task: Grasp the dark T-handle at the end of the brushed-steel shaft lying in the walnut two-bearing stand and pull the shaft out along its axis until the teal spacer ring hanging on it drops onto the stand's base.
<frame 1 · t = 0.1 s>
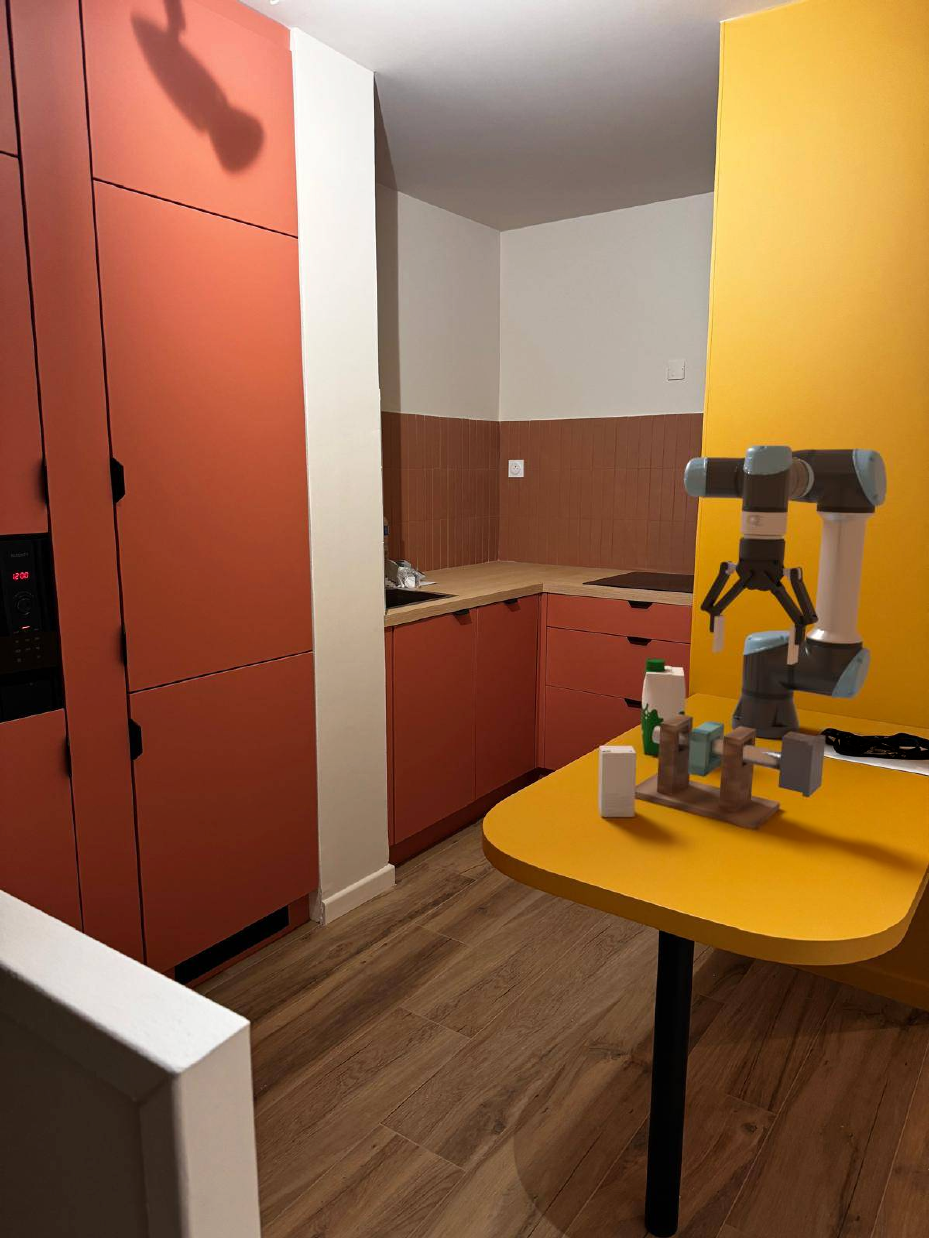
hand: (753, 657, 153), 28 cm above the table, fingers open, 13 cm apart
skincare box: (615, 814, 155), on the table
spacer ring: (705, 769, 159), point 6 cm above the table, touching shaft
bearing stand: (703, 802, 160), on the table
shaft: (732, 747, 155), point 12 cm above the table, slide at 0.0 cm, touching spacer ring
milk carton: (661, 751, 189), on the table
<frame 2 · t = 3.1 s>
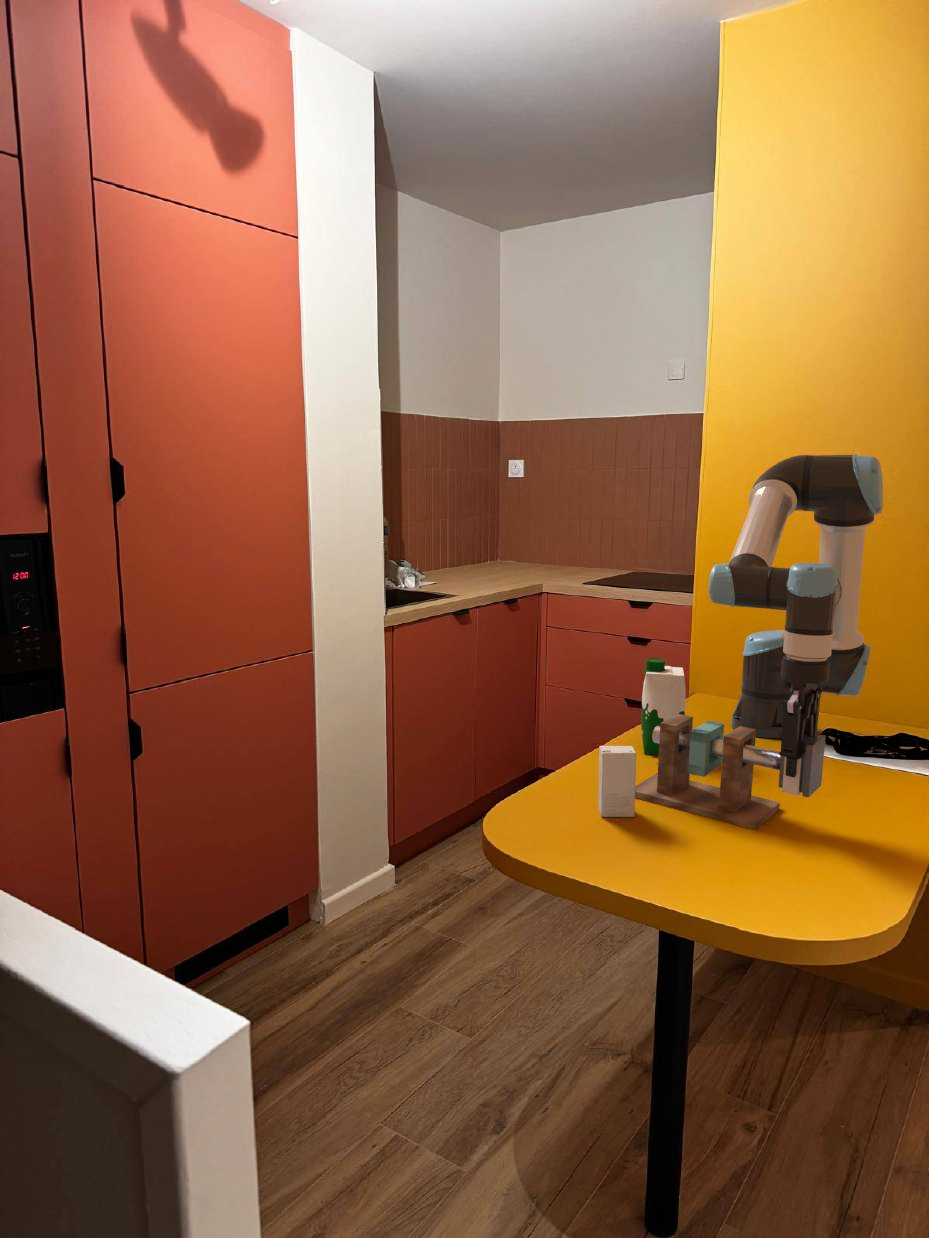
hand: (795, 788, 149), 7 cm above the table, fingers closed on shaft, 4 cm apart
shaft: (732, 747, 155), point 12 cm above the table, slide at 0.0 cm, touching gripper, spacer ring
everything else where it was.
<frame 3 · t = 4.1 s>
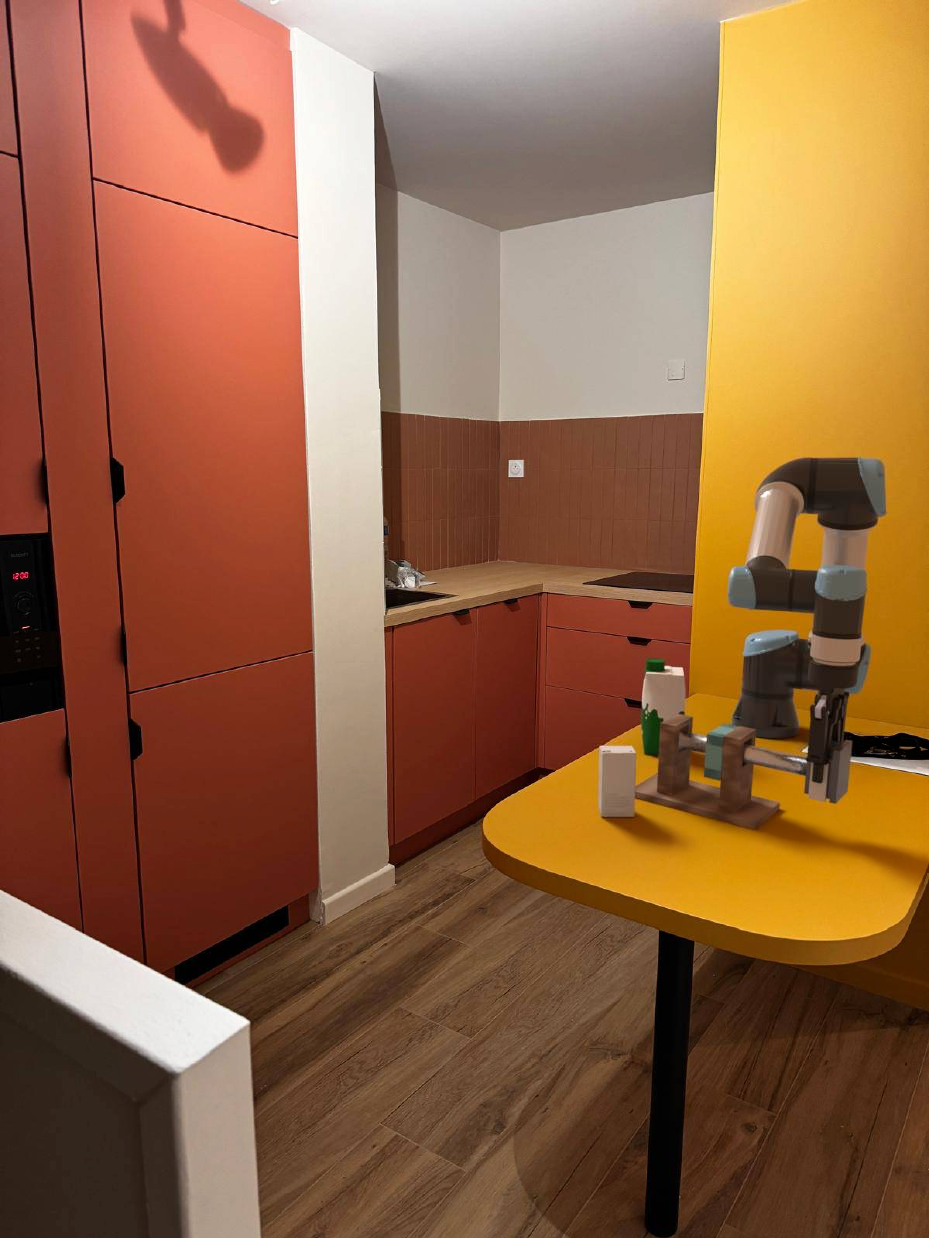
hand: (821, 795, 147), 7 cm above the table, fingers closed on shaft, 4 cm apart
spacer ring: (720, 772, 157), point 6 cm above the table, touching bearing stand, shaft
shaft: (756, 753, 153), point 12 cm above the table, slide at 4.3 cm, touching gripper, spacer ring
everything else where it was.
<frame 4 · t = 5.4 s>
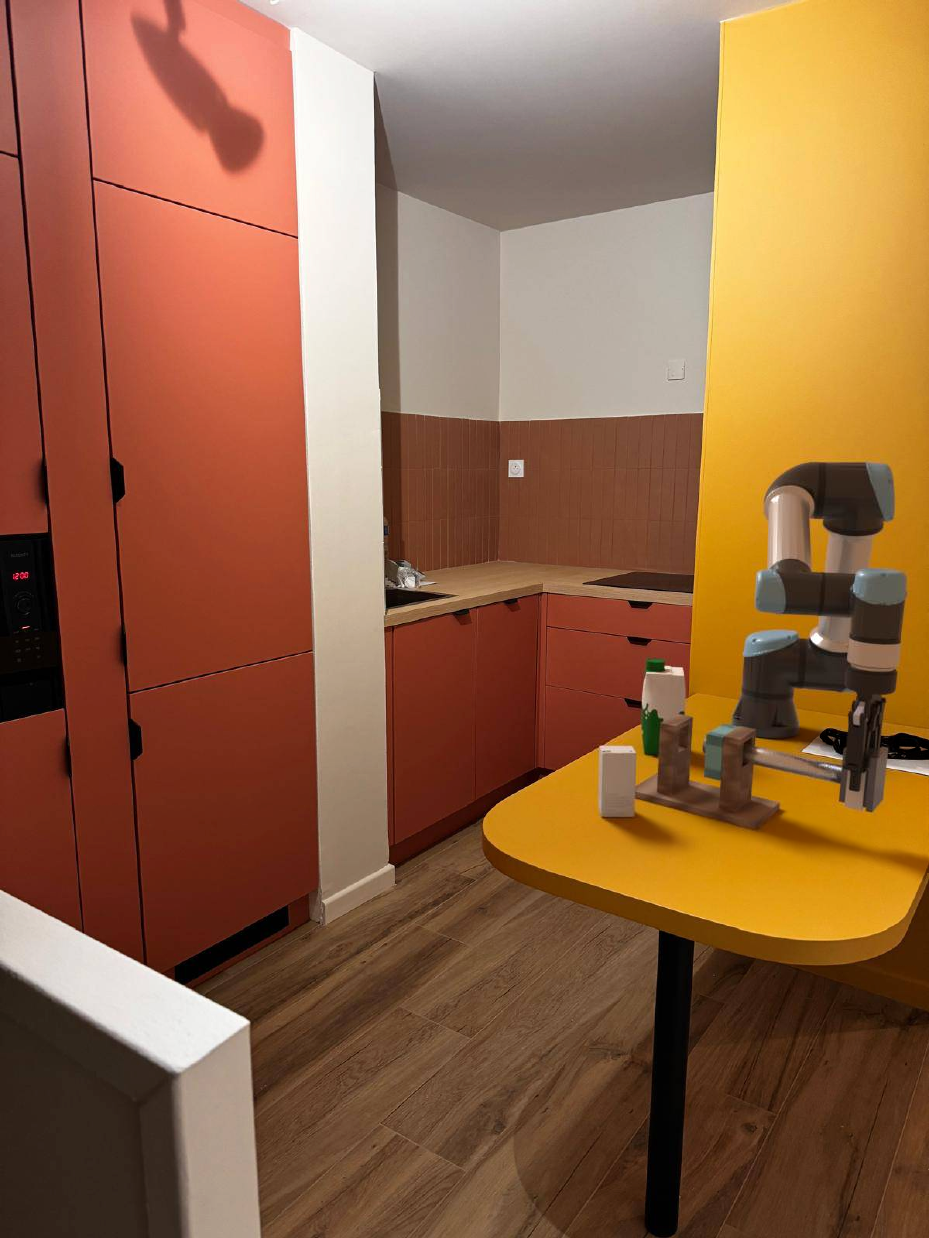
hand: (857, 803, 143), 7 cm above the table, fingers closed on shaft, 4 cm apart
spacer ring: (720, 772, 157), point 6 cm above the table
shaft: (788, 759, 149), point 12 cm above the table, slide at 9.9 cm, touching gripper
everything else where it was.
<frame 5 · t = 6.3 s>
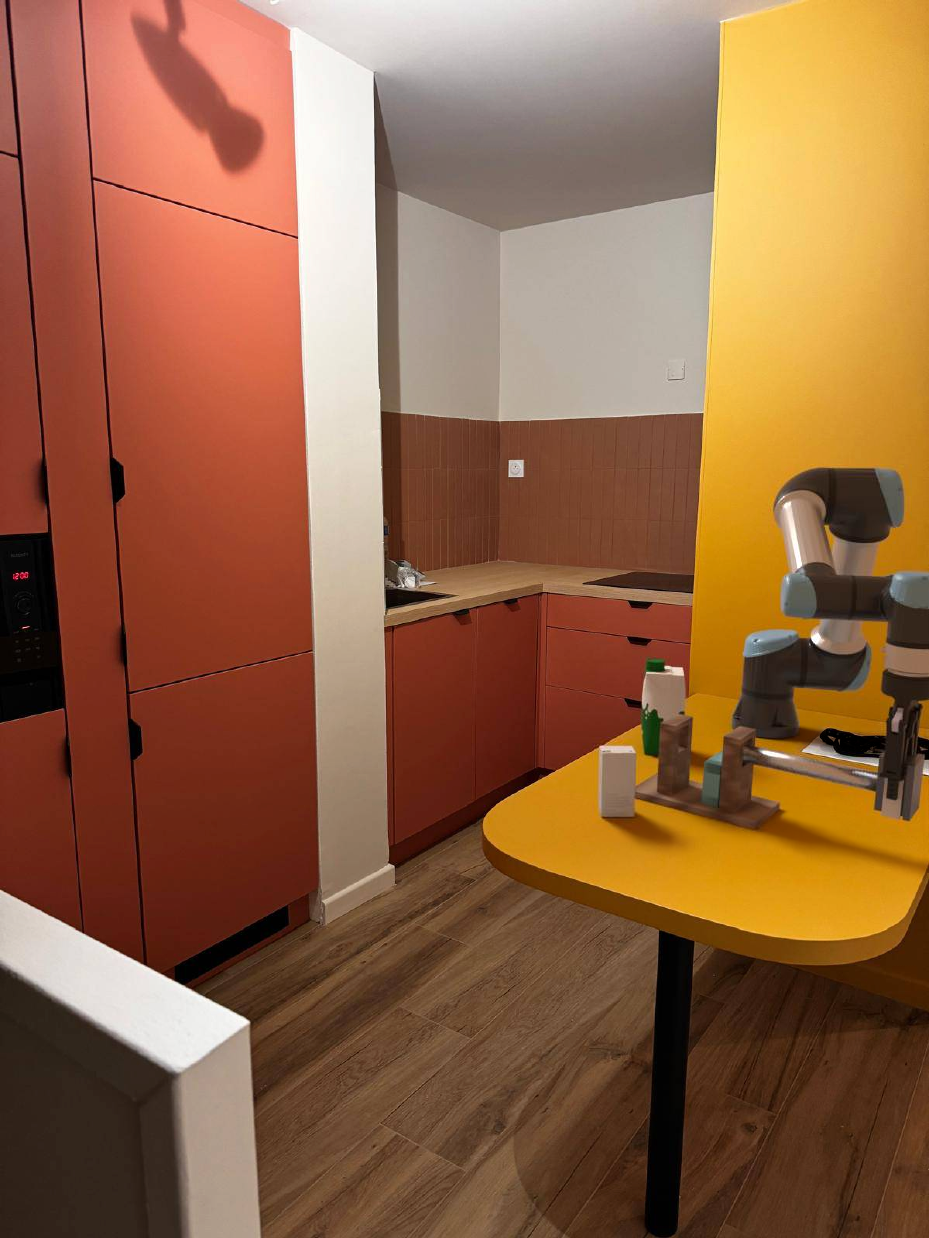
hand: (894, 812, 140), 7 cm above the table, fingers closed on shaft, 4 cm apart
spacer ring: (718, 799, 158), point 1 cm above the table, touching bearing stand
shaft: (820, 766, 146), point 12 cm above the table, slide at 15.3 cm, touching gripper
everything else where it was.
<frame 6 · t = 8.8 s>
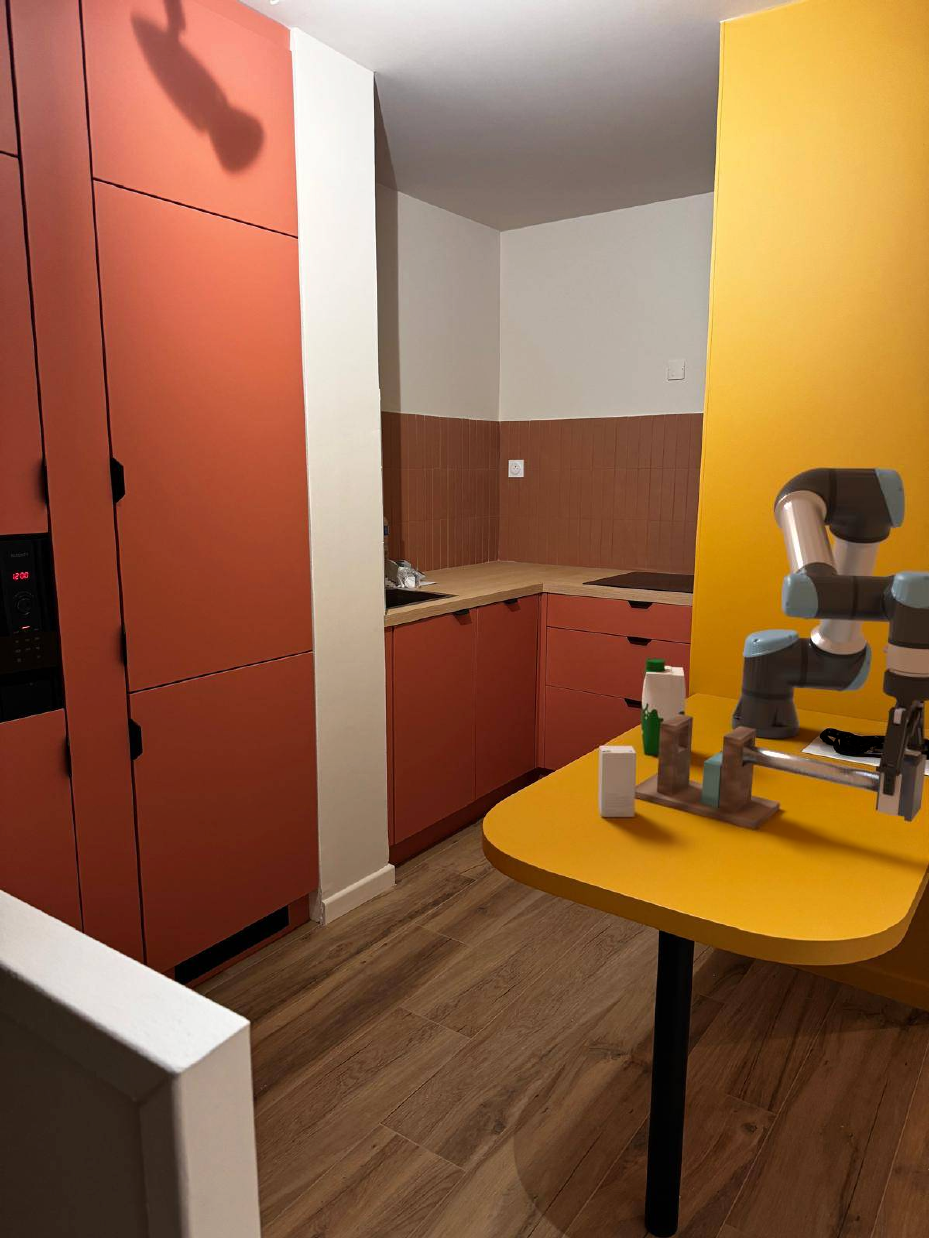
hand: (897, 800, 139), 9 cm above the table, fingers open, 13 cm apart
shaft: (822, 767, 146), point 12 cm above the table, slide at 15.6 cm
everything else where it was.
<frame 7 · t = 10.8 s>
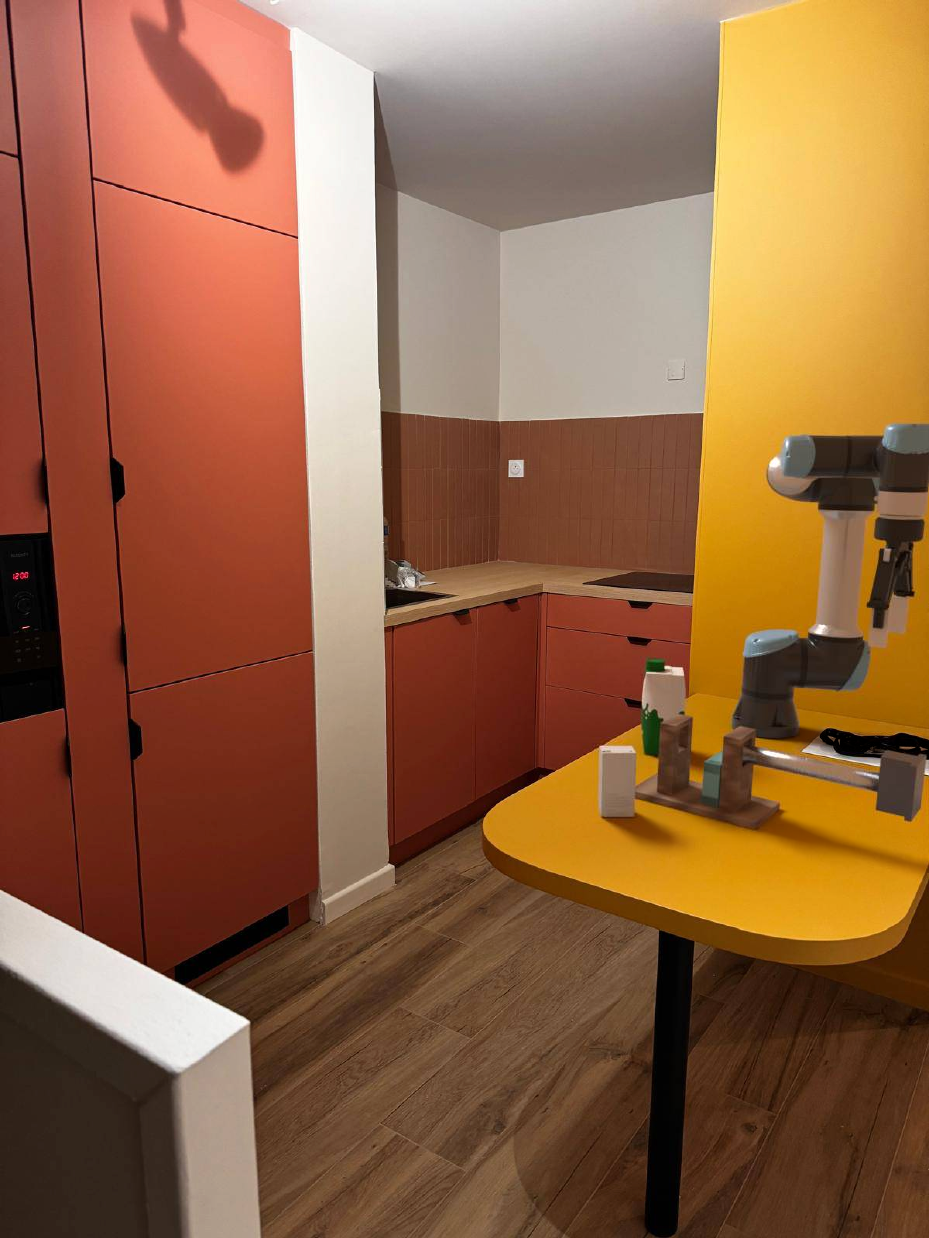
hand: (887, 639, 151), 32 cm above the table, fingers open, 13 cm apart
nothing on the table moved.
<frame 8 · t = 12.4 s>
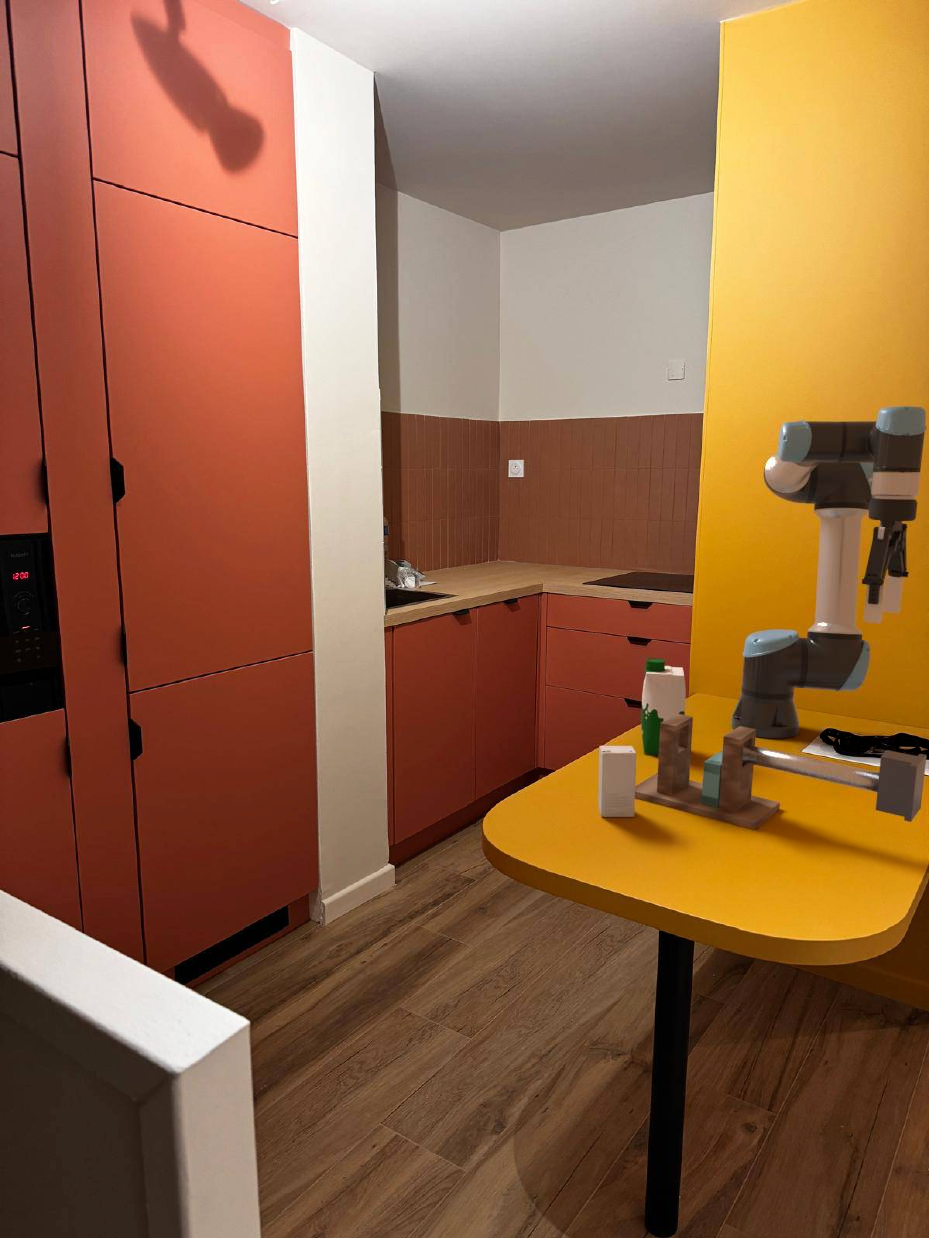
hand: (882, 617, 156), 35 cm above the table, fingers open, 13 cm apart
nothing on the table moved.
at the end: spacer ring point 1.2 cm above the table; spacer ring inside the target area on the bearing stand (1.8 cm from its centre), point 1.2 cm above the bearing stand's base; shaft slide at 15.6 cm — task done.
